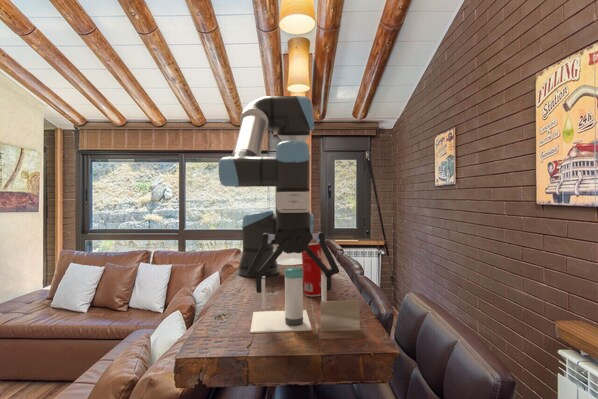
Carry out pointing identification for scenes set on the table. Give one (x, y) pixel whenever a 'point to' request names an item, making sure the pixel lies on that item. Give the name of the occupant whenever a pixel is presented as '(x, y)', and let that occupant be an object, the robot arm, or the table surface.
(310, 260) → the beverage can
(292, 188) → the robot arm
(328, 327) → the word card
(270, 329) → the paper
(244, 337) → the table surface
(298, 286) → the marker
